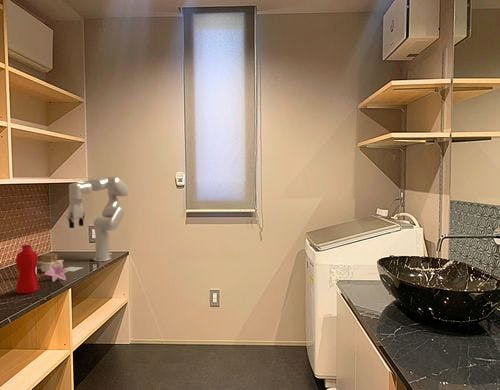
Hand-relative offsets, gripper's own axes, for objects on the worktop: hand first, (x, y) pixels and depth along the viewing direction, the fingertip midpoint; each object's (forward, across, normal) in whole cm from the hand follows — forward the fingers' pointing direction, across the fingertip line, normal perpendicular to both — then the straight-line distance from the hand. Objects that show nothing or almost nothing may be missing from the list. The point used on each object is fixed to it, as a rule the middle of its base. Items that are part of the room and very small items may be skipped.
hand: (76, 226), depth 270 cm
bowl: (+27, +18, -8) cm, 33 cm away
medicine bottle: (+27, +33, -10) cm, 44 cm away
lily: (+27, +34, +11) cm, 45 cm away
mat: (+27, +11, +4) cm, 30 cm away
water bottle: (+26, +59, +14) cm, 66 cm away
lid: (+21, +18, -8) cm, 28 cm away
